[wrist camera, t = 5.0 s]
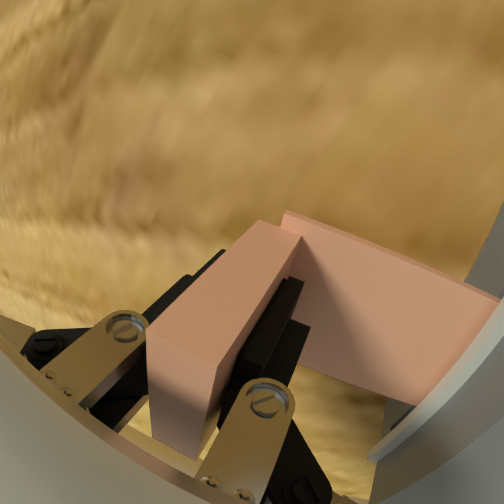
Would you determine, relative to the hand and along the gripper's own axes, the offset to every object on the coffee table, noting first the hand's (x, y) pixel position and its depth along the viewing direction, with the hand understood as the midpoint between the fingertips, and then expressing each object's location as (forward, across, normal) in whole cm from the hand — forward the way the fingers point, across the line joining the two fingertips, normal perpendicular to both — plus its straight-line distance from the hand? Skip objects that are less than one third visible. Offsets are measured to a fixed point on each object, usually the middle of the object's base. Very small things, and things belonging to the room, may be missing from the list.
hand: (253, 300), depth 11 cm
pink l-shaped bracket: (+1, -8, 0) cm, 8 cm away
